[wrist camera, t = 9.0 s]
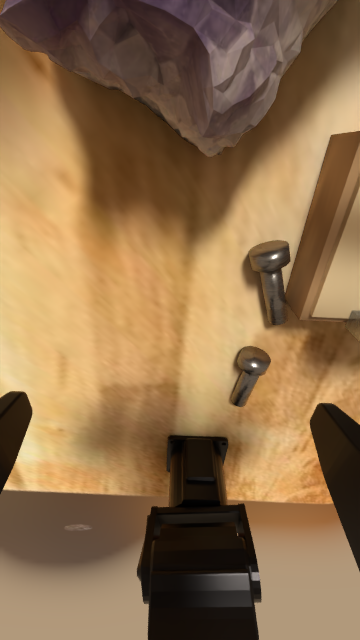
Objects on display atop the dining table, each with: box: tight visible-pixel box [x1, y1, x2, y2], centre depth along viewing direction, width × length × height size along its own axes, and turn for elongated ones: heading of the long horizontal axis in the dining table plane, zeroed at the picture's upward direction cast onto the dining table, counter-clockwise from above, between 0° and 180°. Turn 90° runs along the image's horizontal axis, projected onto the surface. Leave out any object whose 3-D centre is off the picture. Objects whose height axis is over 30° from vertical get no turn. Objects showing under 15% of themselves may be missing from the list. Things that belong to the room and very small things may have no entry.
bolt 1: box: [249, 240, 290, 325], centre depth 18 cm, size 6×2×2 cm, turn 18°
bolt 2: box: [231, 346, 271, 407], centre depth 23 cm, size 6×2×2 cm
